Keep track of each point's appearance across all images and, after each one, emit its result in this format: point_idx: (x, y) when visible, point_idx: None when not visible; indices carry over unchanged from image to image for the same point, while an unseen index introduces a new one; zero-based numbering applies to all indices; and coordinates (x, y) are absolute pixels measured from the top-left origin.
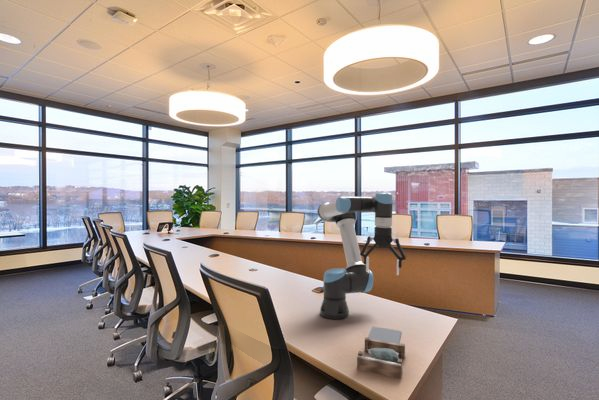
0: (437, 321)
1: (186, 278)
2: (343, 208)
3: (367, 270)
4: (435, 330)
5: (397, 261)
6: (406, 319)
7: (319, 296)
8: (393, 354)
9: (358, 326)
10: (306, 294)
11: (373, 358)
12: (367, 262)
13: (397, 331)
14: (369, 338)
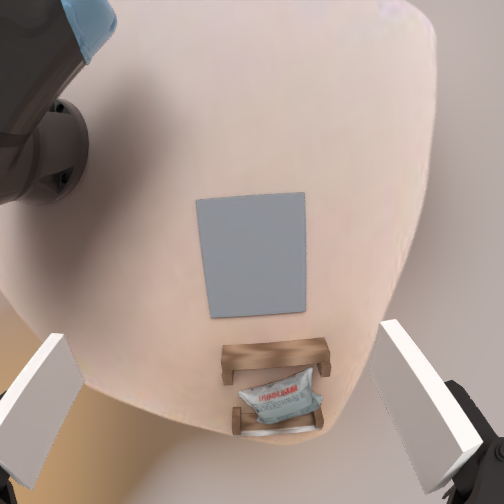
0: (401, 46)
1: None
2: None
3: (79, 389)
4: (404, 127)
5: (429, 486)
6: (302, 58)
7: None
8: (305, 412)
9: (148, 214)
10: None
11: (266, 432)
12: (47, 449)
13: (291, 203)
14: (215, 301)
